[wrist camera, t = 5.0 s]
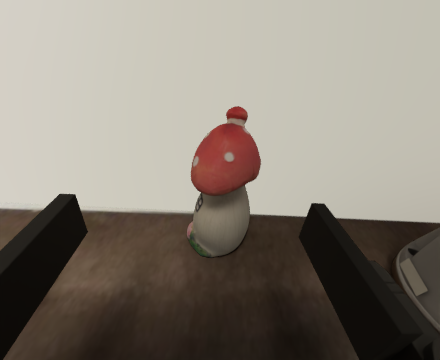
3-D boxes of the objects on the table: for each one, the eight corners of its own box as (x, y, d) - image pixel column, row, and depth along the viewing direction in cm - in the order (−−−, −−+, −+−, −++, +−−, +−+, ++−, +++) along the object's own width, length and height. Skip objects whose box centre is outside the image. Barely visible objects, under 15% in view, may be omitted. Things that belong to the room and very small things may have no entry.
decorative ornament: (218, 206, 31) (229, 100, 23) (258, 226, 28) (286, 112, 20) (173, 245, 24) (165, 113, 16) (219, 277, 21) (237, 135, 13)
